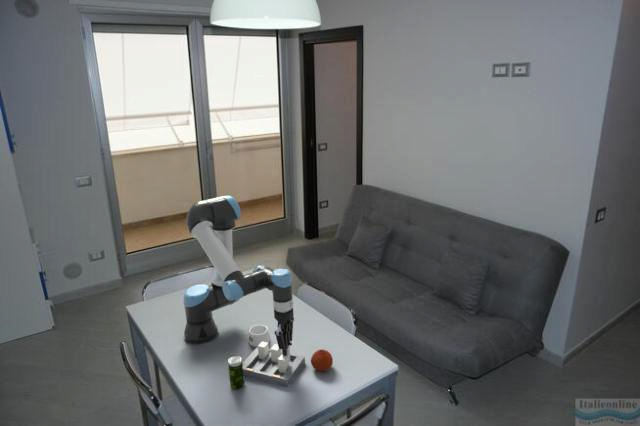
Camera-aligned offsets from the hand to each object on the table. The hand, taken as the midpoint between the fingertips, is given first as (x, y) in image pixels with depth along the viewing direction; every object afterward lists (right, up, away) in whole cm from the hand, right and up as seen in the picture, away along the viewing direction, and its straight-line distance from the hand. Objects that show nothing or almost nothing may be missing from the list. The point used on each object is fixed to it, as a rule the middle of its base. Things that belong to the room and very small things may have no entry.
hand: (286, 360), depth 182 cm
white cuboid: (-5, -2, +5) cm, 7 cm away
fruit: (+14, -4, +2) cm, 15 cm away
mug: (-15, +2, +22) cm, 27 cm away
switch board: (-6, -4, +2) cm, 8 cm away
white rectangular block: (-10, -1, +8) cm, 13 cm away
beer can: (-18, -8, -8) cm, 21 cm away
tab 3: (-1, -4, -1) cm, 4 cm away
